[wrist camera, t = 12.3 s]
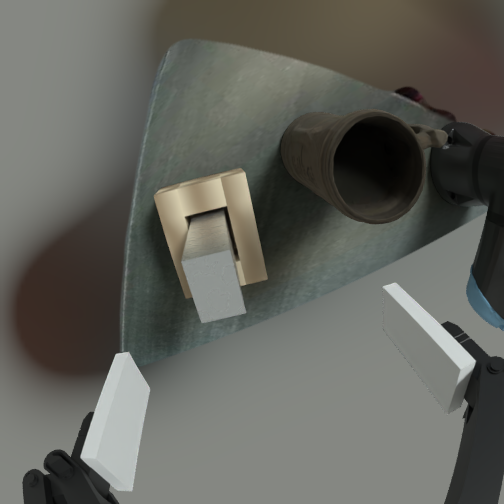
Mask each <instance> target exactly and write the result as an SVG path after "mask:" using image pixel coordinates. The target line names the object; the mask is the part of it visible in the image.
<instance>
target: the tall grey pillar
mask: <svg viewBox="0 0 504 504" xmlns="http://www.w3.org/2000/svg"><path fill="white" fill-rule="evenodd" d="M181 263H182V266H183V269H184V272H185V275H186V278H187V281H188V284H189V288H190V291H191V294H192V297H193V299H194V302H195V305H196V308H197V311H198V314H199V317H200V320H201V323H205V322H210V321H214V320H219V319H223V318H227V317H232V316H236V315H240V314H244V313H246V309H245V304H244V299H243V295H242V290H241V285H240V280H239V275H238V270H237V265H236V260H235V255H234V250H233V245H232V240H231V236H230V232H229V228H228V224H227V220H226V216H225V212H224V208H223V207H221V208H217V209H213V210H209V211H205V212H201V213H197V214H193V215H192V219H191V223H190V227H189V231H188V235H187V239H186V243H185V247H184V252H183V256H182V260H181Z"/></svg>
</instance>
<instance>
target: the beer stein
mask: <svg viewBox="0 0 504 504" xmlns="http://www.w3.org/2000/svg"><path fill="white" fill-rule="evenodd" d="M447 138H448V135H447V133H446V132H445V131H443V130H439V129H432V128H430V127H429V126H426V125H422V124H406V123H405V122H404V121H403V120H401V119H400V118H399V117H397V116H395V115H392V114H390V113H387V112H385V111H382V110H376V109H363V110H358V111H354V112H351V113H348V114H346V115H345V116H338V115H334V114H330V113H323V112H312V113H307V114H305V115H302V116H300V117H299V118H297V119H295V120H294V121H293V122H292V123H291V124H290V125H289V126H288V128H287V129H286V131H285V133H284V135H283V138H282V143H281V157H282V160H283V163H284V166H285V168H286V169H287V171H288V172H289V174H290V175H291V176H292V177H293V178H294V179H295V180H296V181H298V182H299V183H301V184H303V185H304V186H305V187H307V188H309V189H310V190H312V191H313V192H314V193H315V194H316V195H317V196H320V197H322V198H323V199H325V201H327V202H328V203H329V204H331V205H333V206H334V207H336V209H338V210H339V211H340V212H341V213H343V214H344V215H345V216H347V217H349V218H351V219H354V220H356V221H359V222H365V223H369V224H384V223H389V222H392V221H395V220H397V219H399V218H400V217H402V216H403V215H404V214H406V213H407V212H408V211H409V210H410V209H411V208H412V207H413V206H414V204H415V203H416V202H417V200H418V198H419V196H420V194H421V192H422V190H423V186H424V183H425V177H426V159H425V153H424V149H426V148H428V147H437V148H440V147H442V146H443V145H444V144H445V143H446V142H447Z"/></svg>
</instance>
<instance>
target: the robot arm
mask: <svg viewBox="0 0 504 504" xmlns="http://www.w3.org/2000/svg"><path fill="white" fill-rule="evenodd" d="M441 130H443V131H445V132H446V133H447V135H448V138H447V142H446V143H445V144H444V145H443V146H442V147H440V148H437V147H433V148H432V153H431V173H432V178H433V182H434V184H435V187H436V189H437V191H438V192H439V194H440V195H441V197H442V198H443V199H445V200H446V201H447V202H449V203H451V204H454V205H457V206H460V207H471V206H482V205H485V206H488V211H487V216H486V220H485V224H484V228H483V232H482V235H481V239H480V243H479V246H478V250H477V253H476V256H475V260H474V263H473V264H472V266H471V270H470V273H471V274H470V277H469V281H468V284H467V288H466V294H467V297H468V301H469V303H470V305H471V306H472V308H473V309H474V310H475V311H476V313H477V314H478V315H479V316H480V317H482V318H483V319H484V320H485V321H486V322H488V323H489V324H491V325H492V326H494V327H496V328H498V327H499V328H500V329H501V330H502V331H504V137H503V136H495V135H490V134H489V133H487V132H485V131H483V130H482V129H480V128H478V127H476V126H474V125H472V124H470V123H465V122H452V123H450V124H448V125H446V126H445V127H443V128H442V129H441ZM383 330H384V331H385V333H386V334H387V335H388V336H389V338H390V339H391V340H392V341H393V343H394V344H395V346H396V347H397V348H398V350H399V351H400V352H401V353H402V355H403V356H404V357H405V359H406V360H407V361H408V363H409V364H410V365H411V367H412V368H413V369H414V371H415V372H416V373H417V375H418V376H419V377H420V379H421V380H422V381H423V383H424V384H425V385H426V387H427V388H428V390H429V391H430V392H431V394H432V395H433V397H434V398H435V399H436V401H437V402H438V404H439V405H440V406H441V408H442V409H443V411H444V412H445V413H446V414H449V413H450V412H452V411H454V410H456V409H458V408H459V407H461V404H462V402H463V399H465V400H466V401H467V402H468V406H467V408H466V411H465V413H464V416H463V418H465V422H464V428H463V433H462V439H461V443H460V448H459V452H458V457H457V462H456V465H455V469H454V473H453V476H452V480H451V484H450V487H449V490H448V493H447V497H446V500H445V503H444V504H498V500H499V495H500V490H501V485H502V480H503V474H504V359H502V358H501V357H497V356H494V357H490V356H488V355H487V354H486V353H485V352H484V351H483V350H482V349H481V348H480V347H479V346H478V345H477V344H476V343H475V342H474V341H473V340H472V339H470V337H469V336H468V335H467V334H466V333H464V331H462V329H461V328H460V327H458V326H457V325H455V324H453V323H451V322H448V321H447V322H445V323H443V324H441V325H440V324H439V323H438V322H437V321H436V320H435V319H434V318H433V317H432V316H430V314H429V313H428V312H426V311H425V310H424V309H423V308H422V307H421V306H420V305H419V304H418V303H417V302H416V301H415V300H414V299H413V298H412V297H411V296H410V295H408V294H407V293H406V292H405V291H404V290H403V289H402V288H401V287H400V286H399V285H398V284H396V283H392V284H389V285H386V286H384V287H383ZM149 393H150V388H149V386H148V385H147V383H146V381H145V380H144V378H143V376H142V375H141V373H140V371H139V369H138V368H137V366H136V364H135V362H134V361H133V359H132V357H131V355H130V354H129V352H125V353H119V354H116V356H115V358H114V361H113V363H112V366H111V368H110V371H109V374H108V376H107V379H106V382H105V384H104V387H103V390H102V393H101V395H100V398H99V401H98V404H97V407H96V410H95V412H89V413H88V415H87V416H86V417H85V419H84V420H83V422H82V425H81V428H80V429H81V430H80V431H79V434H78V437H77V440H76V443H75V446H74V449H73V452H72V455H71V457H70V456H69V455H68V454H67V453H66V452H65V451H63V450H54V451H52V452H50V453H49V454H48V455H47V457H46V458H45V460H44V469H45V470H47V471H48V472H49V473H50V474H48V475H44V474H43V473H42V472H41V471H39V470H37V469H32V470H30V471H28V472H27V473H26V474H25V476H24V478H23V496H24V504H119V503H118V501H117V500H116V498H115V497H114V495H113V494H112V493H111V492H110V491H109V488H110V485H111V486H113V487H114V488H115V489H116V490H119V491H133V482H134V477H135V470H136V464H137V457H138V451H139V445H140V440H141V434H142V429H143V423H144V418H145V412H146V407H147V403H148V397H149Z"/></svg>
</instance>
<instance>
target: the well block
mask: <svg viewBox="0 0 504 504" xmlns="http://www.w3.org/2000/svg"><path fill="white" fill-rule="evenodd" d="M154 199H155V202H156V206H157V209H158V213H159V216H160V220H161V223H162V226H163V230H164V233H165V236H166V240H167V243H168V246H169V249H170V252H171V256H172V259H173V262H174V265H175V268H176V271H177V274H178V277H179V280H180V283H181V286H182V289H183V292H184V295H185V298H186V299H188V298H192V294H191V291H190V288H189V284H188V281H187V278H186V275H185V272H184V269H183V266H182V263H181V260H182V256H183V252H184V247H185V243H186V239H187V235H188V231H189V227H190V223H191V219H192V215H193V214H197V213H201V212H205V211H209V210H213V209H217V208H221V207H223V208H224V212H225V216H226V220H227V224H228V228H229V232H230V236H231V240H232V245H233V250H234V255H235V260H236V265H237V270H238V275H239V280H240V285H241V286H243V285H247V284H251V283H255V282H259V281H264V280H268V278H267V273H266V268H265V263H264V259H263V254H262V249H261V244H260V240H259V235H258V230H257V226H256V221H255V216H254V212H253V207H252V202H251V198H250V193H249V188H248V184H247V179H246V175H245V172H244V171H243V170H242V169H241V168H238V169H234V170H229V171H225V172H221V173H217V174H213V175H209V176H205V177H201V178H197V179H193V180H189V181H185V182H181V183H177V184H174V185H170V186H166V187H163V188H161V189H160V190H159V191H158V192H157V193H156V194H155V195H154Z"/></svg>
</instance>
